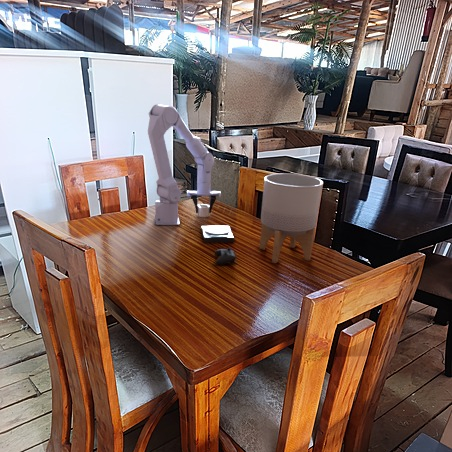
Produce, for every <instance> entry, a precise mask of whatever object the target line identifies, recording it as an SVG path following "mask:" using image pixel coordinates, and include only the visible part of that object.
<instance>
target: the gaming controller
mask: <svg viewBox="0 0 452 452" xmlns="http://www.w3.org/2000/svg"><path fill="white" fill-rule="evenodd" d="M214 256H216V257H218V258H216V261H215V265H217V266H223V265H227V264H230V265H232V264H236V261H235V260H236V254H235V251H234V249H232V248H231V247H228V248H227V249H226V248H219V249H217V250H215V251H214Z"/></svg>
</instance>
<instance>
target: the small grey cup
mask: <svg viewBox="0 0 452 452" xmlns="http://www.w3.org/2000/svg"><path fill="white" fill-rule="evenodd" d="M197 207H198V213H196V214H197V216H198V217H199V218H208V217H210V213H209V209H210V206H209V204H207V203H201V204H200V203H199V204H198V205H197Z"/></svg>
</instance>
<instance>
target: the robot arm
mask: <svg viewBox="0 0 452 452" xmlns="http://www.w3.org/2000/svg"><path fill="white" fill-rule="evenodd" d="M181 115H182V114H181V113H180V112H178V110H177V109H176V107H175V106H173V105H164V104H160V103H155V104H154V105H153V106H152V107H151V109H150V110H149V112H148V116H149V121H148V126H147V135H148V139H149V144H150V148H151V151H152V156H153V161H154V165H155V168H156V172H157V176H158V179H157V180H156V194H157V196H158V197H159V200H154V206H155V214H154V220H155V225H156V226H180V217H179V201H180V200H181V198H182V190H181V189H180V188H179V185H178V183H177V181H176V179H175V178H174V177H173V172H172V168H171V163H170V159H169V154H168V150H167V145H166V140H165V134H166V133H167V131H169V129H170V128H172V127H173V128H174V129H175V130H176V132H177V133H178V134H179V135H180V136H181V138H182V139H183V140H184V141H185V147H186V148H187V150H188V151H189V152H190V153H191V155H192V156H193V157H194V158H193V159H194V163H196V164H197V171H196V173H197V177H196V178H197V181H196V183H197V184H196V188H197V189H196V190H187V191H186V197H191V200H192V202H193V204H194V208H195V214H197V213H198V207H197V205H199V204H198V202H199V199H198V197H209V201H208V202H209V203H208V205H209V206H210V209H209V214H212V209H213V206H214V205H215V202H216V201H217V197H218V198H221V197H222V193H221V190H220V191H219V190H211V189H212V188H211V187H212V186H211V185H212V170H213V165H214V163H215V158H214V155H213V154H212V153H211V152H209V151H208V148H207V147H206V146H204V144H203V143H202V139H201V137H198V136H195V135H193V133H191V131H190V129H189V127H188V126H187V125H186V123H185V121H184V120H183V118H182V116H181Z"/></svg>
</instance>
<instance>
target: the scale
mask: <svg viewBox="0 0 452 452" xmlns="http://www.w3.org/2000/svg"><path fill="white" fill-rule="evenodd" d="M201 234H202V238H203V242H204V243H206V244H207V243H209V244H210V243H213V244H214V243H217V244H218V243H220V244H221V243H234V242H235V237H234V235H233V232H232V230H231V227H230V226H229V225H217V224H215V225H201Z"/></svg>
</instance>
